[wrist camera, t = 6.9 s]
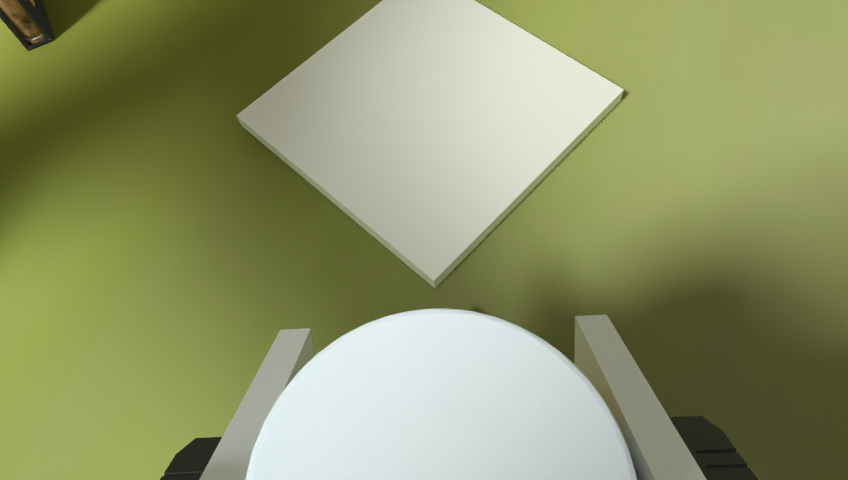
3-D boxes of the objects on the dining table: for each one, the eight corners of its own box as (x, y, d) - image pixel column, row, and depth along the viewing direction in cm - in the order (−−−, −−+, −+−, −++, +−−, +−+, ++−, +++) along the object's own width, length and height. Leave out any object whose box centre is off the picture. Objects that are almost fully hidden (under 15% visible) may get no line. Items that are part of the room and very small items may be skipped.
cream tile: (241, 125, 38) (236, 115, 37) (423, -19, 43) (422, -31, 42) (434, 288, 33) (433, 280, 32) (620, 101, 37) (623, 89, 36)
